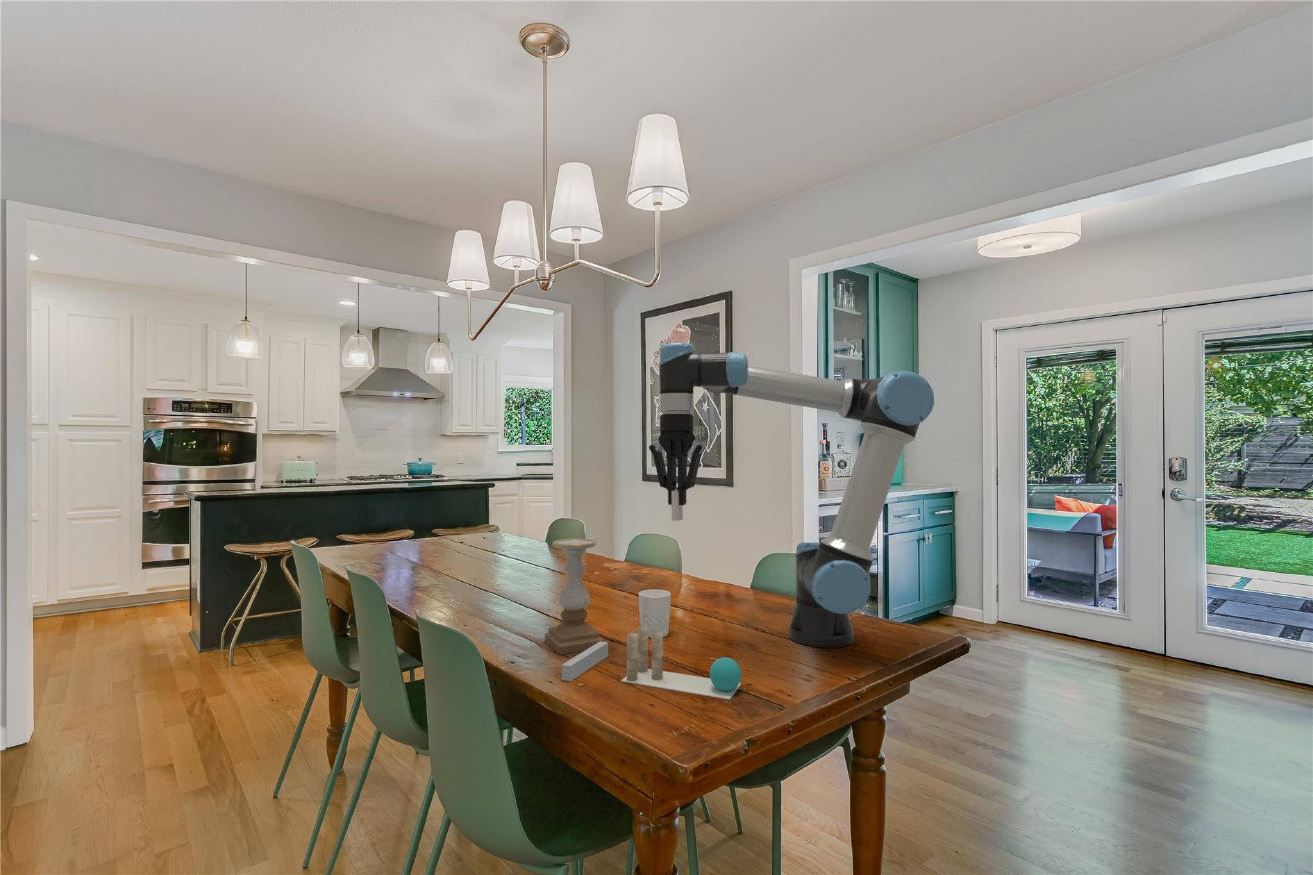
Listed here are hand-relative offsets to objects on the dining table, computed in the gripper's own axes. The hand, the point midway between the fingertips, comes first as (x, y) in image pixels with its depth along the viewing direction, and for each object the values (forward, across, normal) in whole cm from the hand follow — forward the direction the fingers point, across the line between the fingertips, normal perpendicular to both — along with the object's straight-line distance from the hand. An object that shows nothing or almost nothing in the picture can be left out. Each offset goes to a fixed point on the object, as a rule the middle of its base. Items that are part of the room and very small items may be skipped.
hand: (677, 519), depth 138 cm
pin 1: (+30, +2, +18) cm, 35 cm away
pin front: (+30, -2, +15) cm, 33 cm away
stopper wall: (+30, +14, +16) cm, 36 cm away
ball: (+27, -16, +14) cm, 34 cm away
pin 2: (+30, +2, +13) cm, 32 cm away
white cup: (+30, +11, -11) cm, 34 cm away
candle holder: (+30, +24, +4) cm, 39 cm away
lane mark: (+30, -7, +15) cm, 34 cm away
